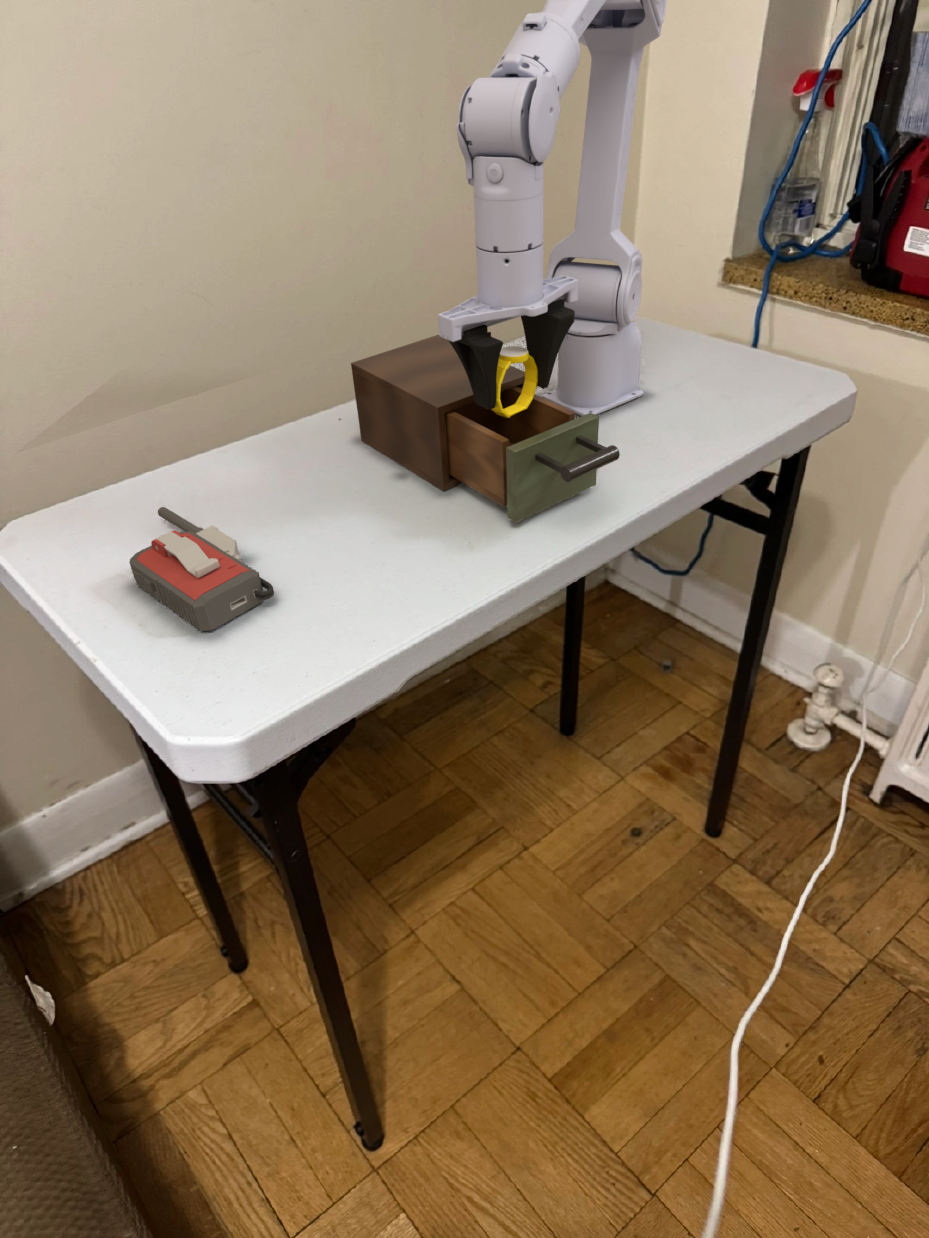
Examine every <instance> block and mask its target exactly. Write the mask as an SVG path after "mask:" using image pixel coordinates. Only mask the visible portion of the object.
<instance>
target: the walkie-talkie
mask: <svg viewBox="0 0 929 1238" xmlns="http://www.w3.org/2000/svg"><path fill="white" fill-rule="evenodd" d="M157 515H158V516H159V517H160V518H162V519H163V520H165V521H167V522H168V523H170V524H171V525H173V526H175V527H176V528H178V529H180V530H181V531H178V530H175V529H173V530H171V531H169V532H167V533H165V534H163V535H160V536H158V537H156V538H155V539H153V540H151V542H150V544H151V545H149V546H147V547H145V548H143V549H140V551H138V552H136V553H135V554H133V556H132V557H131V558H130V559H129V562H128V563H129V566H130V569H131V573H132V575H133V579H134V581H135V582H136V585H137V586H138V587H140V588H141V589H143V590H144V591H145V592H146V593H148V594H149V595H151V596H152V597H153V598H155V599H156V600H157V601H159V602H160V603H161V604H164V606H166V607H168V608H169V609H171V611H172V612H175V614H177V615H178V616H179V617H182V619H184V620H185V621H187V622H189V624H191V625H192V626H193V627H196V629H198V630H199V631H200V632H205V631H206V632H207V631H209V632H210V631H214V630H216V629H218V628H219V627H221V626H223V625H224V624H227V623H228V622H230V621H231V620H234V619H235V618H237V617H238V616H240V615H242V614H244V613H245V612H248V611H249V610H251V609H252V608H254V607H256V606H258V605H259V604H261V603H263V601H264V600H265V601H266V600H269V599H271V598H273V597H274V595H275V590H274V586H273V585H272V583H270V582H269V581H267V580H265V579H264V578H262V577H261V576H260V572H259V571H257V570H256V569H254V568H253V567H250V566H249V565H248V564H245V563H244V562H243V561H242V557H241V555H240V552H239V548H238V543H237V541H236V539H234V538H232V537H231V536H230V535H227V534H226V533H224V532H223V531H221V530H219V528H218V527H216V526H215V525H210V526H208V527H206V528H203V527H200V526H199V527H198V526H197V525H195V524H193V523H192V522H190V521H188V520H187V519H185V518H184V517H182V516H180V515H178V514H177V513H175V512H174V511H172V510H170V509H169V508H167V507H166V506H161V507H159V508H158V509H157ZM264 589H265V591H264Z"/></svg>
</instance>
